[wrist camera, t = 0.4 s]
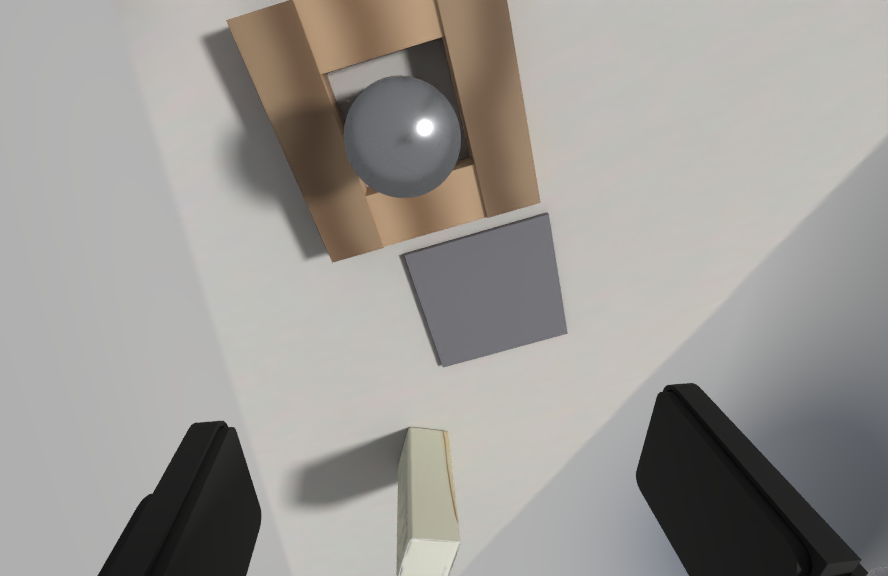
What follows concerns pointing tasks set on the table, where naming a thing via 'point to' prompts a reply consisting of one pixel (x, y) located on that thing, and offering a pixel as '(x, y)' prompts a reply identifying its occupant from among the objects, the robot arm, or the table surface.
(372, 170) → the grey light bulb
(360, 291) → the table surface
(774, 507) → the robot arm
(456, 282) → the mat
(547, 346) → the table surface
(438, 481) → the skincare box
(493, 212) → the wooden square frame
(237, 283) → the table surface
